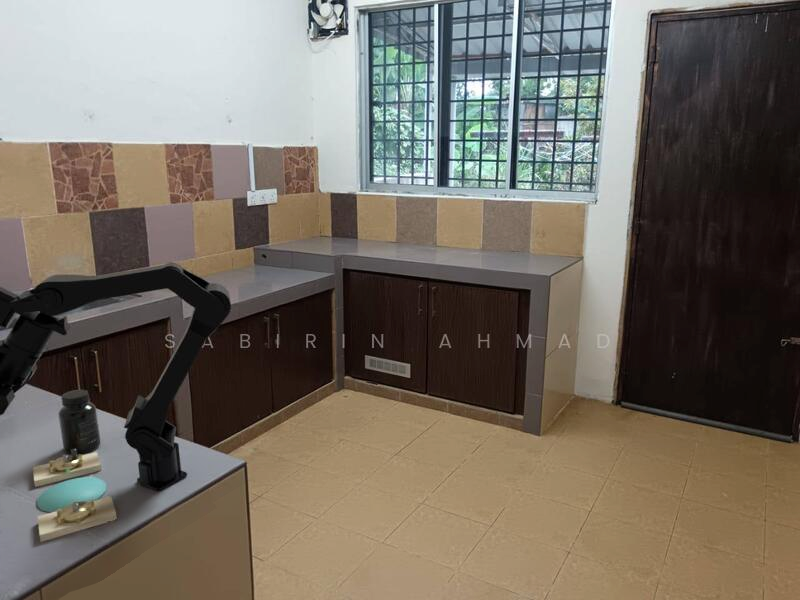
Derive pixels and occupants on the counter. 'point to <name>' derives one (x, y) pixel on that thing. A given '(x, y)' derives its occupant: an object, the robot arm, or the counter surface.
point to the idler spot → (71, 493)
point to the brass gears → (76, 509)
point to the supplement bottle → (78, 423)
